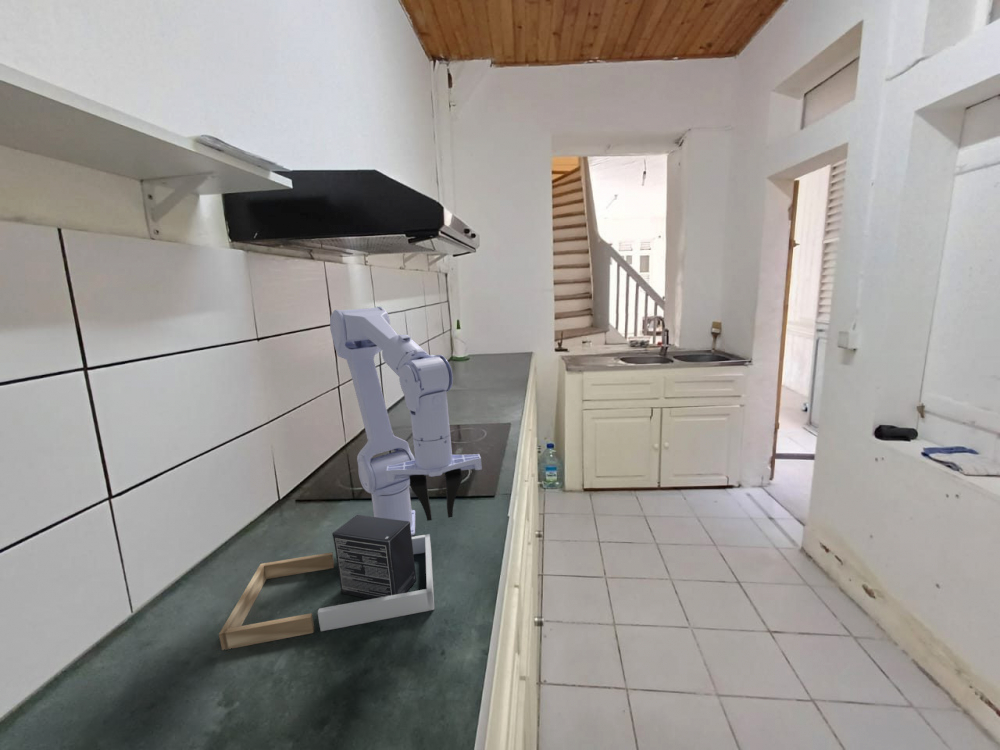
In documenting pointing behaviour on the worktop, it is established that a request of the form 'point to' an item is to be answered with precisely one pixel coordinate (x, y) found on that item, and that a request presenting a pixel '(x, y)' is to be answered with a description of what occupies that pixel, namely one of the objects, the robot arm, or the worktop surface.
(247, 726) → the worktop surface
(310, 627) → the block
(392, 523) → the small box
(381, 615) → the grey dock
